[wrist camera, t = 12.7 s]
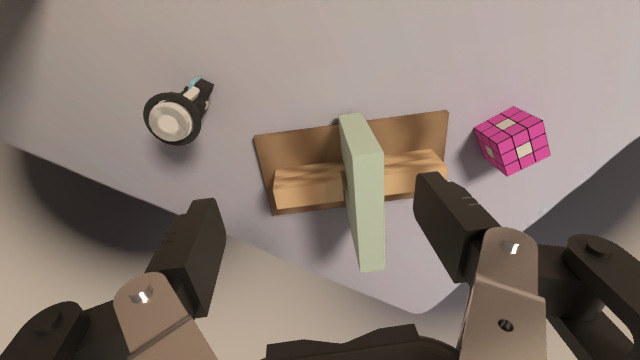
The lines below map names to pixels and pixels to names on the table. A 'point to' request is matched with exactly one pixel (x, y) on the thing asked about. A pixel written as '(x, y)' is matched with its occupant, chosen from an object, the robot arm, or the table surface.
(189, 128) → the push button
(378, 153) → the sage slotted plate
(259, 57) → the table surface
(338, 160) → the oak slotted rail
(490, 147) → the puzzle toy
